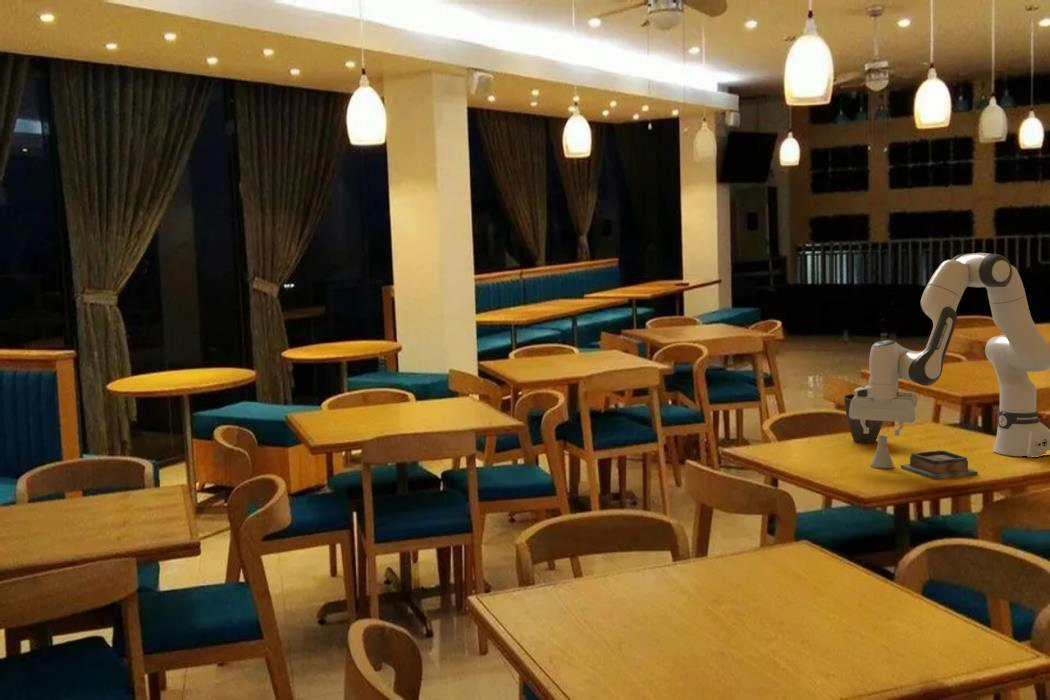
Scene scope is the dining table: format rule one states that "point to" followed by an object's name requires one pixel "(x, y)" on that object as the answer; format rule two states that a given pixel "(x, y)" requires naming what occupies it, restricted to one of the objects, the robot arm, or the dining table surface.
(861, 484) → the dining table surface
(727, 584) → the dining table surface
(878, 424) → the plant pot
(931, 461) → the walnut plinth
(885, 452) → the flask
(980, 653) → the dining table surface
